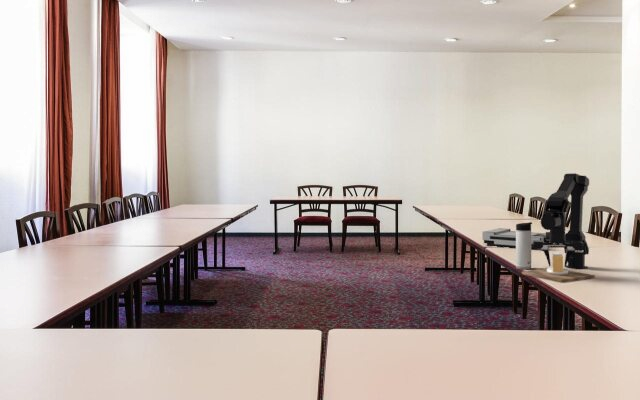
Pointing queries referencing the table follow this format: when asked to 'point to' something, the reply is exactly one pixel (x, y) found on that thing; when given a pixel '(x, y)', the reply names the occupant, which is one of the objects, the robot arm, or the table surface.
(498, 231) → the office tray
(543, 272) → the base plate
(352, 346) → the table surface
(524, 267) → the travel mug
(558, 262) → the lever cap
